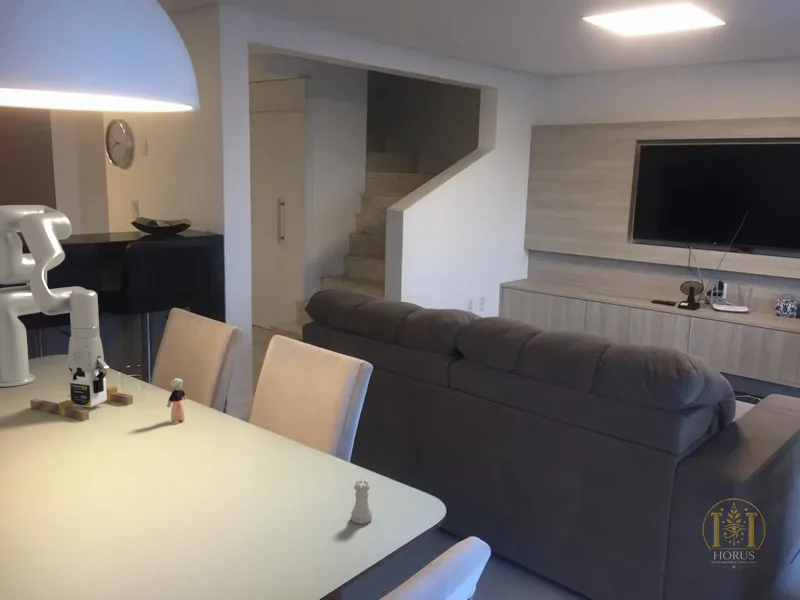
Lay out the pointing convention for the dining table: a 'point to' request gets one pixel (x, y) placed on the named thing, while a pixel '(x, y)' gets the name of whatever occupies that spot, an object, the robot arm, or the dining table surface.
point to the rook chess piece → (361, 504)
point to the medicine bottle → (86, 390)
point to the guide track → (76, 413)
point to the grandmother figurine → (177, 402)
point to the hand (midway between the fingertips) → (88, 389)
